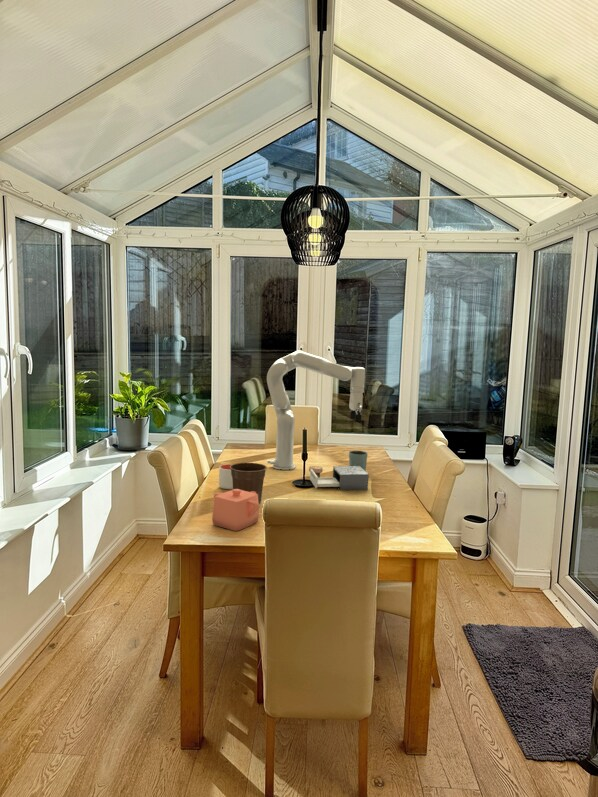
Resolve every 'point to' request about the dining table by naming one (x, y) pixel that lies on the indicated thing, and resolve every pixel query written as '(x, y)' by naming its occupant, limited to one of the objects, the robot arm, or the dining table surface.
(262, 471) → the plant pot
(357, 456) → the grey green tumbler
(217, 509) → the teapot
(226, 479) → the cup
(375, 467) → the dining table surface
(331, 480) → the white drawer
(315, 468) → the pink domed disc
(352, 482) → the housing
